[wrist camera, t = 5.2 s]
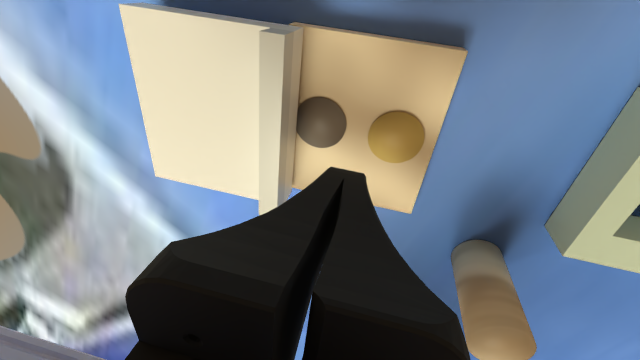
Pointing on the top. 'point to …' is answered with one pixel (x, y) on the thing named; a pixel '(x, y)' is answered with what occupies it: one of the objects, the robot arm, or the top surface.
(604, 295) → the top surface
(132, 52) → the lid
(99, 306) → the top surface
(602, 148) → the socket board
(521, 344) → the peg
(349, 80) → the board
